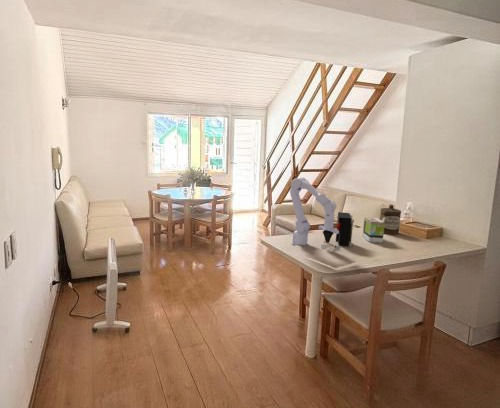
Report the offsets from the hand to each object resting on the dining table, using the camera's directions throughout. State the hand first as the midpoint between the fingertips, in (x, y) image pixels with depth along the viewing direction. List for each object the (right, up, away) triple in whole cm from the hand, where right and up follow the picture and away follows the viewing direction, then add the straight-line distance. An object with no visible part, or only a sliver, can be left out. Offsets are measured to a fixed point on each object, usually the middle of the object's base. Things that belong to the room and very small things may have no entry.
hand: (327, 242), depth 217 cm
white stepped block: (+2, -5, -3) cm, 6 cm away
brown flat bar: (+2, -2, +2) cm, 4 cm away
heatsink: (+3, -5, +2) cm, 6 cm away
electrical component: (+14, -3, +17) cm, 23 cm away
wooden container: (+60, +2, +55) cm, 81 cm away
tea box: (+39, -2, +32) cm, 51 cm away
